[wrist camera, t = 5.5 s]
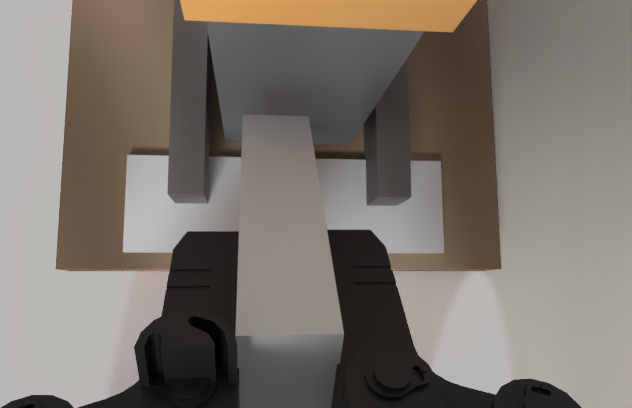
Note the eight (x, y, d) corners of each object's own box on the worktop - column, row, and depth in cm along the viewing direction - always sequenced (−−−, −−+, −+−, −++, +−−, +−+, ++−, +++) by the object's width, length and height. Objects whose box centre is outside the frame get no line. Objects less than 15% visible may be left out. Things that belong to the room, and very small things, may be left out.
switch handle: (356, 21, 20) (484, -308, 9) (359, 154, 19) (500, -31, 8) (218, 14, 19) (178, -343, 9) (215, 151, 19) (168, -50, 8)
